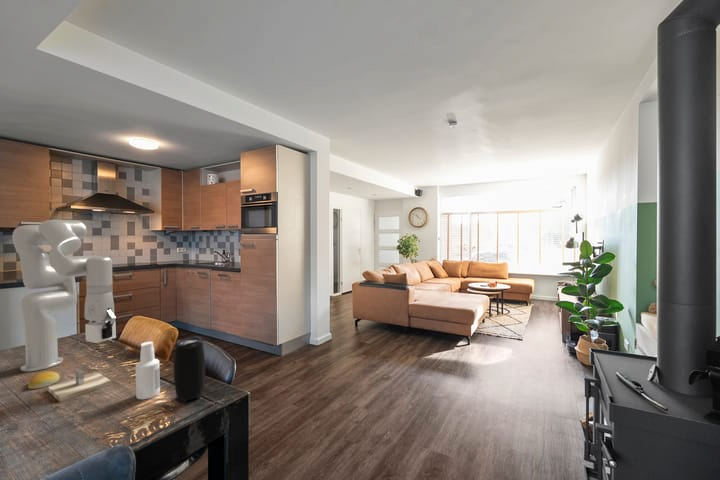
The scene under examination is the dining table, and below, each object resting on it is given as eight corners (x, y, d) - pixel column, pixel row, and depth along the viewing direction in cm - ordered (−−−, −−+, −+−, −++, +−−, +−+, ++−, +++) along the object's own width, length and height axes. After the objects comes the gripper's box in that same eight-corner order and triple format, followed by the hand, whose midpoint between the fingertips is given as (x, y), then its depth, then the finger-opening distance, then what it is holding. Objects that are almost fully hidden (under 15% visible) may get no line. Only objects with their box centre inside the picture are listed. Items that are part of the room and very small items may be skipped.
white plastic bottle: (164, 391, 109) (163, 340, 109) (145, 401, 103) (144, 347, 102) (150, 388, 111) (149, 339, 111) (131, 398, 105) (130, 345, 104)
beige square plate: (47, 390, 110) (47, 374, 110) (97, 375, 122) (96, 360, 122) (59, 402, 103) (59, 384, 103) (111, 384, 114) (110, 368, 114)
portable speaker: (168, 402, 102) (167, 343, 101) (191, 388, 111) (190, 334, 110) (189, 405, 100) (188, 345, 99) (211, 391, 109) (209, 336, 108)
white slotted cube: (85, 341, 115) (85, 323, 114) (104, 335, 121) (104, 319, 120) (96, 343, 112) (96, 325, 112) (115, 337, 118) (115, 320, 118)
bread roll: (26, 392, 110) (26, 381, 110) (30, 383, 117) (30, 372, 117) (58, 384, 115) (58, 374, 115) (60, 376, 122) (60, 366, 122)
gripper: (73, 289, 115) (74, 337, 116) (103, 293, 110) (104, 343, 110) (96, 286, 123) (97, 331, 123) (126, 289, 117) (126, 336, 117)
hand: (100, 336), depth 116 cm, fingers closed on white slotted cube, 6 cm apart
